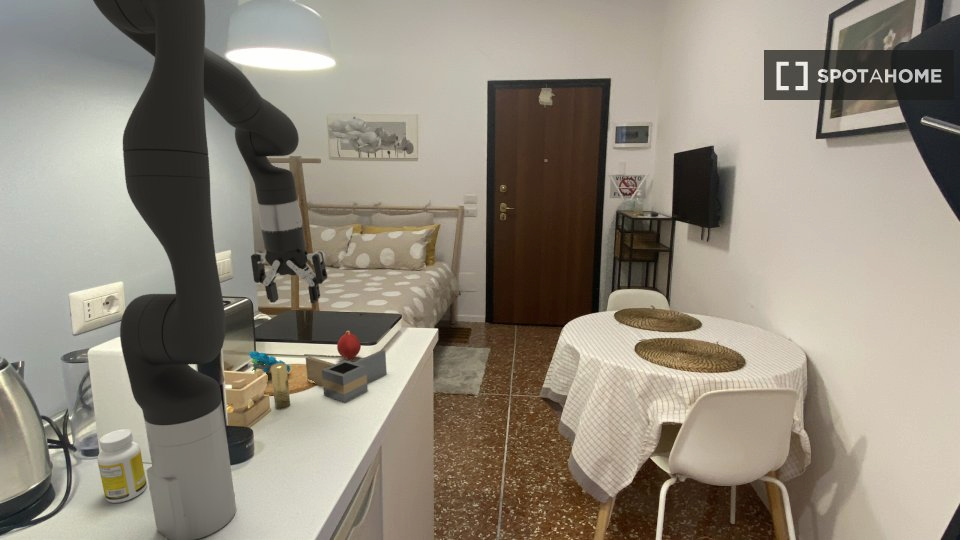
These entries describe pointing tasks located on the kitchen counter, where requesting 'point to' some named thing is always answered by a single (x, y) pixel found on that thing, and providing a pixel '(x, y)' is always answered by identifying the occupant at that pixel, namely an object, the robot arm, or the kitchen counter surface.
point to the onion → (348, 346)
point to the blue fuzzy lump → (264, 361)
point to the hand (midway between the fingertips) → (294, 301)
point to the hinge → (346, 375)
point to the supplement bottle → (121, 466)
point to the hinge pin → (280, 385)
